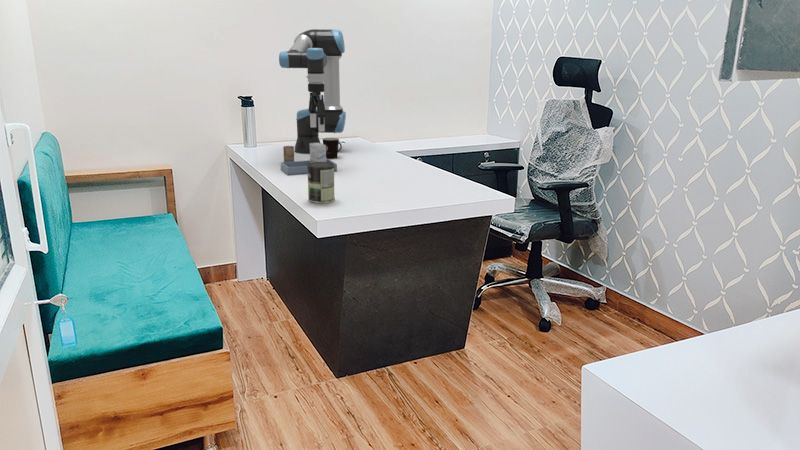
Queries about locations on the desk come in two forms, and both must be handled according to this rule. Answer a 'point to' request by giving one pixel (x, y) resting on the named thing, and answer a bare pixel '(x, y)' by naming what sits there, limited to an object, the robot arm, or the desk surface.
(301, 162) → the tray
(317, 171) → the coffee can
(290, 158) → the walnut dowel
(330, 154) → the coffee mug
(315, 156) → the ink box
